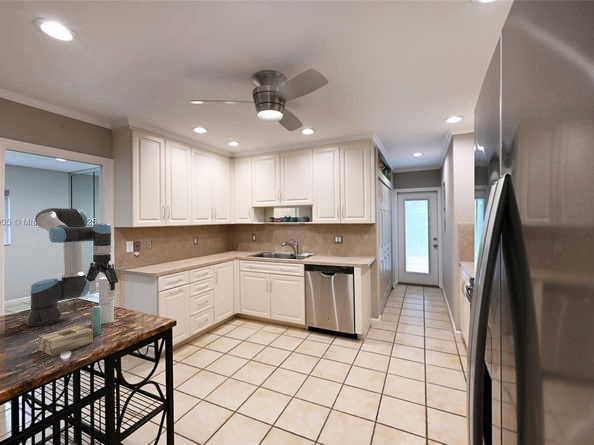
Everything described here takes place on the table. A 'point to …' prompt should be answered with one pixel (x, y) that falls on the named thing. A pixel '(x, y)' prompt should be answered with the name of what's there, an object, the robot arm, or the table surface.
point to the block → (65, 340)
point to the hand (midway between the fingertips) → (101, 295)
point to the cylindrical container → (105, 301)
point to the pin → (96, 320)
